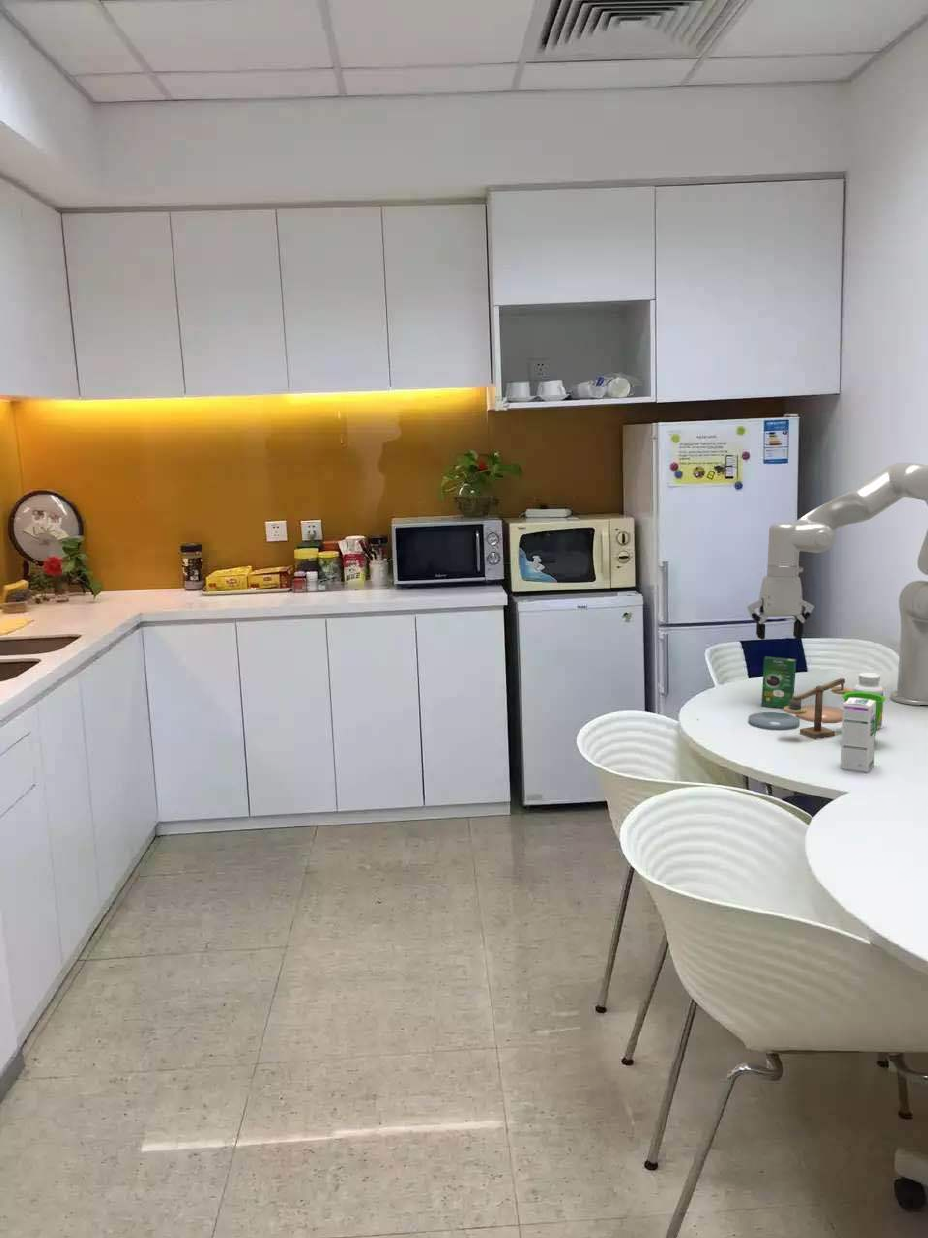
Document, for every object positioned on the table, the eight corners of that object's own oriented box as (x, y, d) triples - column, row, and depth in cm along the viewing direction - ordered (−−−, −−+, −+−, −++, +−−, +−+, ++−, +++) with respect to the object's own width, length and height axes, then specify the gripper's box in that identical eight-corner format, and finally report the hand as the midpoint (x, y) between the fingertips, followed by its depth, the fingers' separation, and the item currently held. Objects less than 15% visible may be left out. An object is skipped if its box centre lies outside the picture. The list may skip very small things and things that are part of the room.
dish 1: (787, 715, 253) (787, 710, 253) (807, 729, 242) (808, 724, 241) (741, 717, 252) (741, 713, 252) (759, 731, 240) (760, 726, 240)
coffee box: (794, 707, 261) (797, 658, 258) (793, 710, 258) (795, 660, 256) (763, 704, 264) (764, 655, 262) (760, 706, 262) (762, 657, 260)
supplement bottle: (884, 731, 239) (887, 678, 236) (854, 730, 240) (857, 678, 238) (878, 723, 245) (881, 672, 243) (849, 722, 246) (852, 671, 244)
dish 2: (832, 708, 259) (832, 704, 258) (855, 721, 247) (855, 716, 247) (787, 710, 257) (788, 706, 257) (808, 723, 246) (808, 719, 246)
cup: (881, 739, 233) (883, 693, 231) (883, 750, 224) (886, 703, 222) (839, 736, 236) (842, 690, 234) (840, 747, 227) (842, 700, 225)
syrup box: (868, 773, 210) (872, 705, 208) (839, 768, 213) (842, 702, 211) (874, 765, 215) (877, 699, 212) (845, 761, 218) (848, 696, 215)
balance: (840, 727, 242) (843, 674, 240) (856, 732, 238) (858, 679, 236) (778, 737, 236) (780, 683, 233) (792, 743, 231) (794, 688, 229)
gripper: (808, 569, 259) (804, 634, 263) (744, 570, 258) (741, 636, 261) (821, 573, 252) (817, 640, 255) (755, 574, 250) (752, 641, 253)
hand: (779, 638), depth 258 cm, fingers open, 9 cm apart
